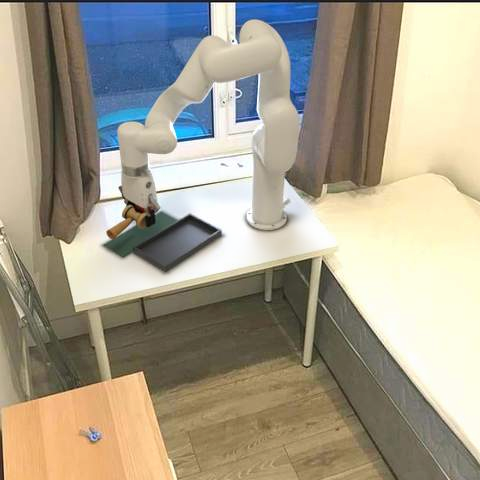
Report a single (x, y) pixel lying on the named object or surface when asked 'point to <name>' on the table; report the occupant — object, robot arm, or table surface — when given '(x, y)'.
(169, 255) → the dark grey flat tray
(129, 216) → the kendama
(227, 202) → the table surface
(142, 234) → the mat
